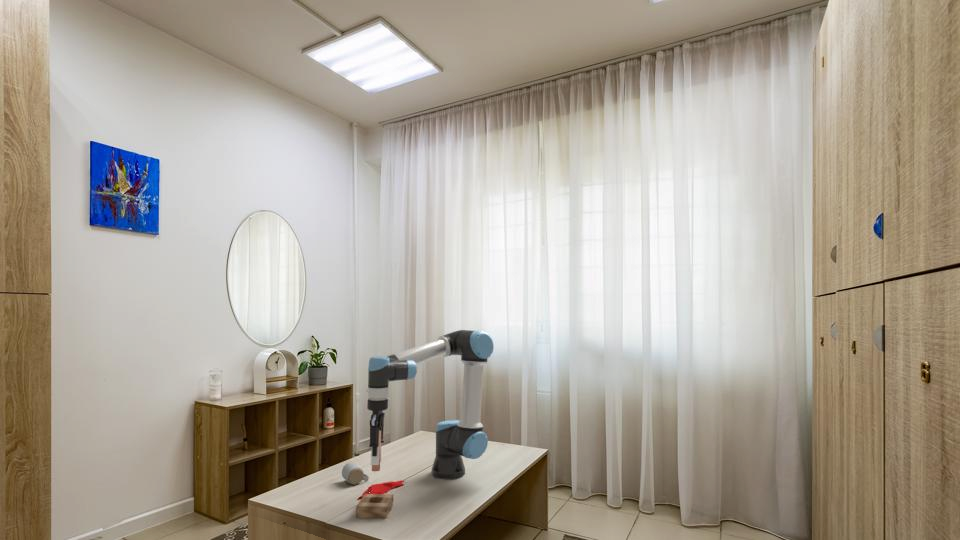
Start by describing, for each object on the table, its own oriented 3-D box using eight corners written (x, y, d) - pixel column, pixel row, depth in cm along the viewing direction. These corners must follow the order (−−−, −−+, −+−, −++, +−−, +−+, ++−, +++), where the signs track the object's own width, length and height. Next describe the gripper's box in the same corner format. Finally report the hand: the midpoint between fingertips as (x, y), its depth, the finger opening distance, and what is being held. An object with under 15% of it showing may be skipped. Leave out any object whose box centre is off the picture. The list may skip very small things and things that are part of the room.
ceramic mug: (347, 487, 198) (348, 468, 199) (341, 481, 205) (341, 462, 206) (371, 482, 205) (372, 464, 205) (364, 476, 211) (365, 459, 212)
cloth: (399, 479, 210) (399, 473, 211) (417, 488, 200) (417, 482, 200) (344, 493, 193) (344, 488, 193) (360, 504, 183) (360, 498, 183)
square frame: (393, 505, 181) (393, 494, 181) (386, 518, 170) (387, 506, 170) (364, 504, 181) (364, 493, 182) (356, 517, 170) (356, 505, 171)
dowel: (380, 468, 178) (381, 430, 179) (378, 471, 175) (379, 432, 176) (372, 468, 178) (373, 430, 179) (370, 471, 175) (371, 432, 176)
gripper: (373, 394, 187) (371, 456, 185) (362, 402, 171) (359, 470, 169) (392, 394, 187) (390, 456, 185) (382, 402, 171) (380, 470, 169)
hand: (376, 462), depth 177 cm, fingers closed on dowel, 3 cm apart
